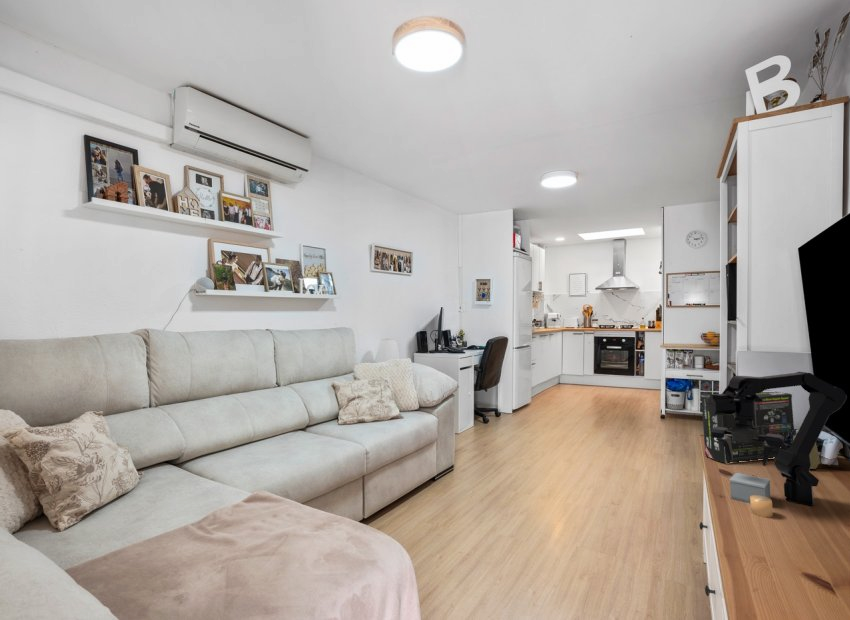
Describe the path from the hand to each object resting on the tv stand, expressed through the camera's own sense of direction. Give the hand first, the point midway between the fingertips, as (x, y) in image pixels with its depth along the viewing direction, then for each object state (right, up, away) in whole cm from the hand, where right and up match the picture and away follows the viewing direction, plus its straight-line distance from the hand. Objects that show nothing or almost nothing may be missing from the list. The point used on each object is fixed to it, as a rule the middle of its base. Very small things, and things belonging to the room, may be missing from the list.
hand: (747, 462), depth 138 cm
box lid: (+1, -6, +1) cm, 7 cm away
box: (+2, -12, +1) cm, 12 cm away
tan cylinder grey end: (-3, -12, -10) cm, 16 cm away
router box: (+32, -13, +41) cm, 54 cm away
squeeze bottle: (+43, -12, +26) cm, 52 cm away
